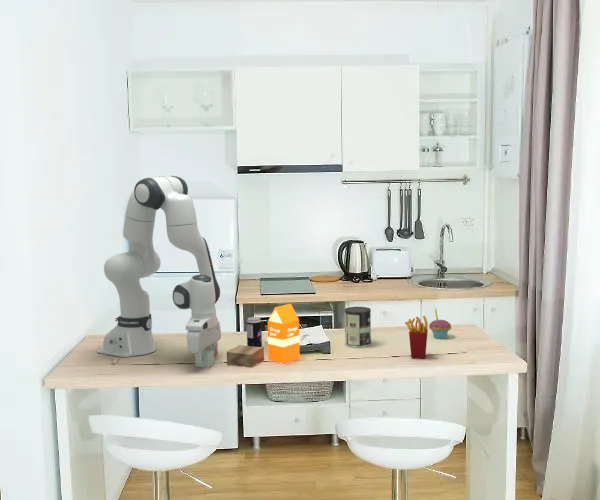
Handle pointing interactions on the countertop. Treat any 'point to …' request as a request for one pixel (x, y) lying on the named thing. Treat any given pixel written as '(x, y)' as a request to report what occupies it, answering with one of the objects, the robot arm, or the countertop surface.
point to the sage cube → (206, 359)
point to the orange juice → (283, 334)
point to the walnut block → (245, 356)
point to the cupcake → (439, 327)
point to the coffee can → (357, 327)
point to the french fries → (418, 338)
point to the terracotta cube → (215, 348)
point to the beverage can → (254, 332)
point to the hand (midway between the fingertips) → (206, 358)
